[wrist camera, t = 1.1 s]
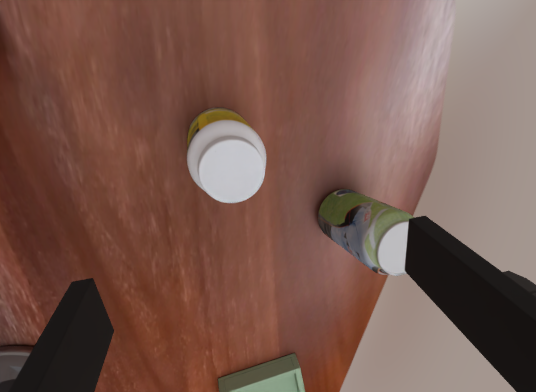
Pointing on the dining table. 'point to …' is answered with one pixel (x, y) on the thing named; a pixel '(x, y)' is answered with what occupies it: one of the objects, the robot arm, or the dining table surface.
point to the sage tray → (266, 377)
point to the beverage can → (367, 230)
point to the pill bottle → (225, 155)
